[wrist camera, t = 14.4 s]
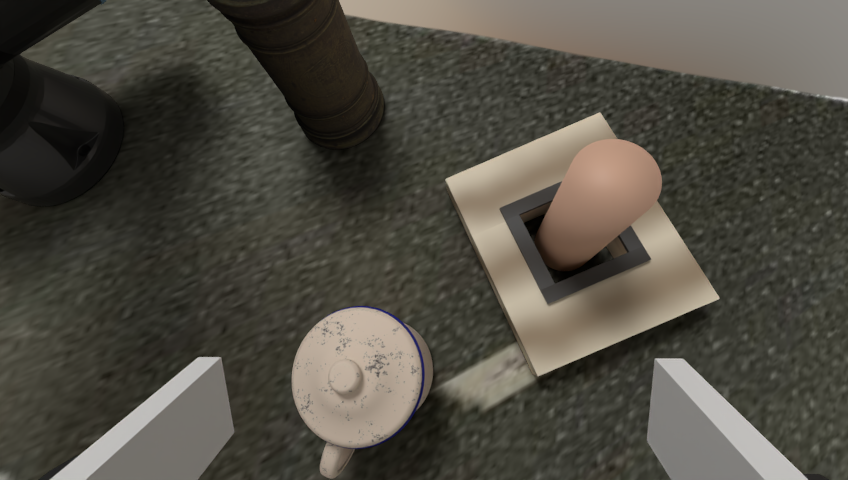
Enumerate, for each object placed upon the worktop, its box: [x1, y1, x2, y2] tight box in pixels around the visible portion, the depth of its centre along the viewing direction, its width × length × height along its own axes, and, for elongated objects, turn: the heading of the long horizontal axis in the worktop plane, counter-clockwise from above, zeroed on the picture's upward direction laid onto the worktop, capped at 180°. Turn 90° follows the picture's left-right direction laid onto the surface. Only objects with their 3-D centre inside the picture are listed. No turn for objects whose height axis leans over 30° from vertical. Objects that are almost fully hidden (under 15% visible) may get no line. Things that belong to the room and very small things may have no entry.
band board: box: [445, 113, 720, 376], centre depth 35 cm, size 18×15×3 cm
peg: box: [535, 139, 662, 271], centre depth 30 cm, size 5×5×14 cm
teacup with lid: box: [292, 306, 433, 479], centre depth 29 cm, size 12×9×12 cm
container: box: [207, 0, 384, 149], centre depth 34 cm, size 9×9×18 cm
